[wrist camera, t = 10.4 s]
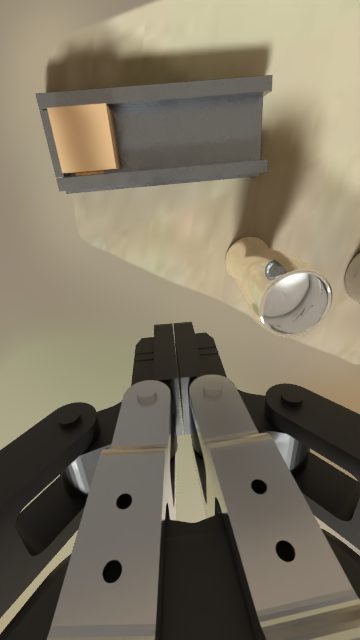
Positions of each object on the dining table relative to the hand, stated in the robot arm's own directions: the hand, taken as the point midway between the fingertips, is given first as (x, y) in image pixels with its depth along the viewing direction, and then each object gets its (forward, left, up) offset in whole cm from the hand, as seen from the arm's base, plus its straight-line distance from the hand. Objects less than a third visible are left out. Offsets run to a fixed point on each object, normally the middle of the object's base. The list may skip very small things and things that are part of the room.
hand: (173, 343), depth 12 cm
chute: (+4, -8, -28) cm, 29 cm away
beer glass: (-12, -1, -28) cm, 31 cm away
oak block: (+10, -5, -26) cm, 28 cm away
